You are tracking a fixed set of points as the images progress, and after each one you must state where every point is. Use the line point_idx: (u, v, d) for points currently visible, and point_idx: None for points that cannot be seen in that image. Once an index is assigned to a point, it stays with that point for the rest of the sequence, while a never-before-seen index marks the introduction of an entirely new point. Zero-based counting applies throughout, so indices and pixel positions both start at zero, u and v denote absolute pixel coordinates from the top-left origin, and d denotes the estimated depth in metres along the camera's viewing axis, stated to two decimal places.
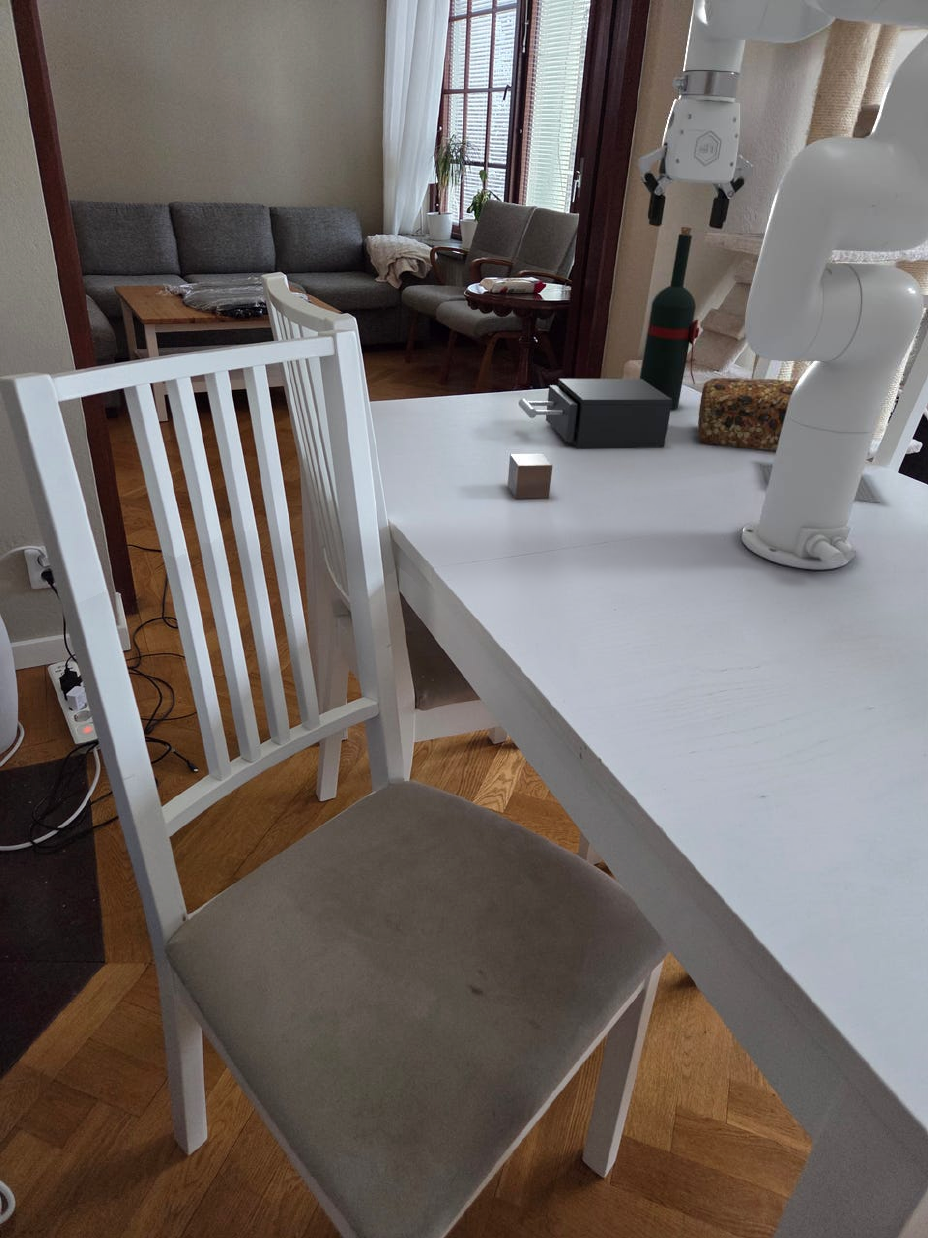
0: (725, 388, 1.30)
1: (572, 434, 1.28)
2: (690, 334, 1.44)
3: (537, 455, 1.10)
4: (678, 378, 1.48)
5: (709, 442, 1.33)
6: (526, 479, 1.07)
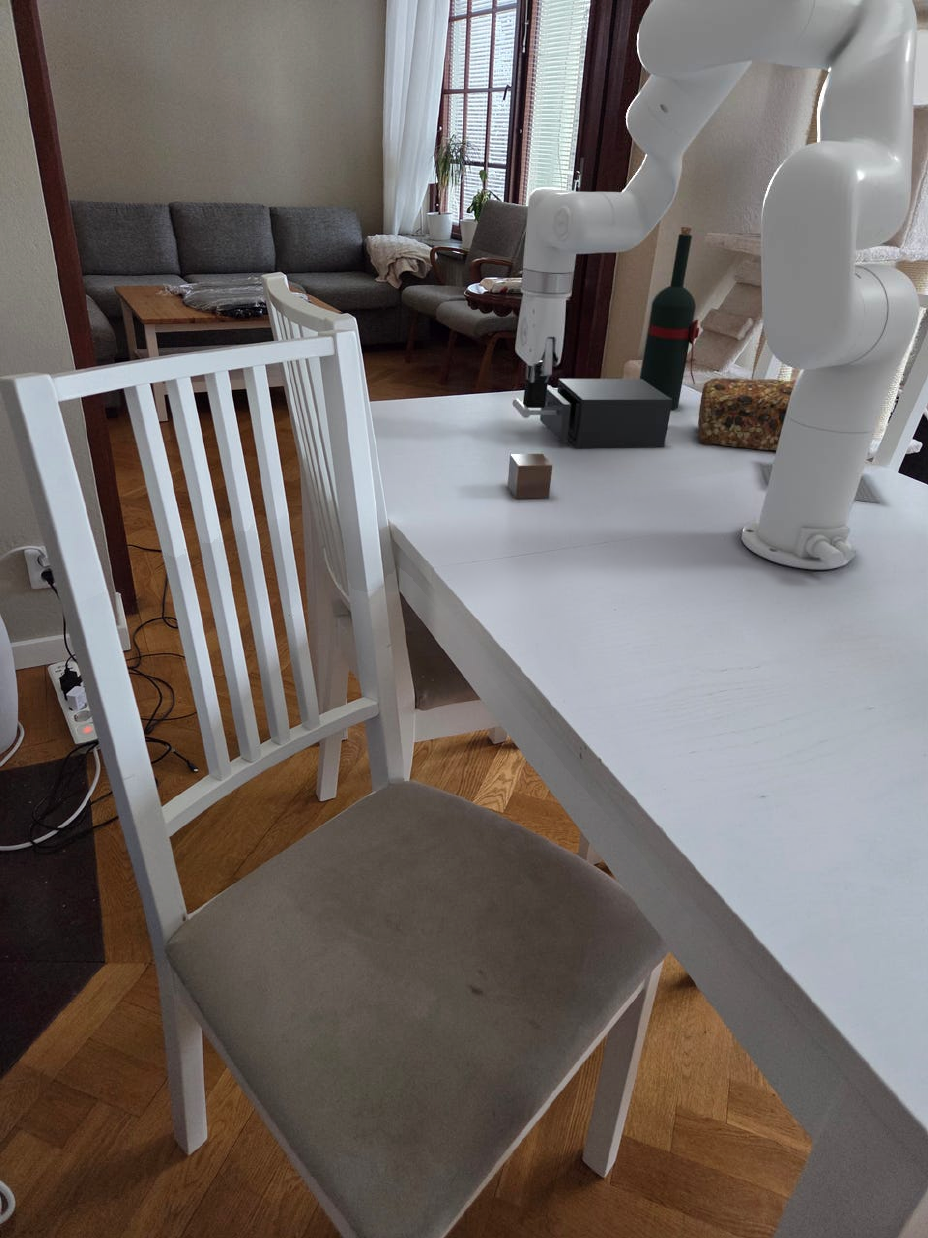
0: (725, 388, 1.30)
1: (566, 434, 1.27)
2: (690, 334, 1.44)
3: (537, 455, 1.10)
4: (678, 378, 1.48)
5: (709, 442, 1.33)
6: (526, 479, 1.07)
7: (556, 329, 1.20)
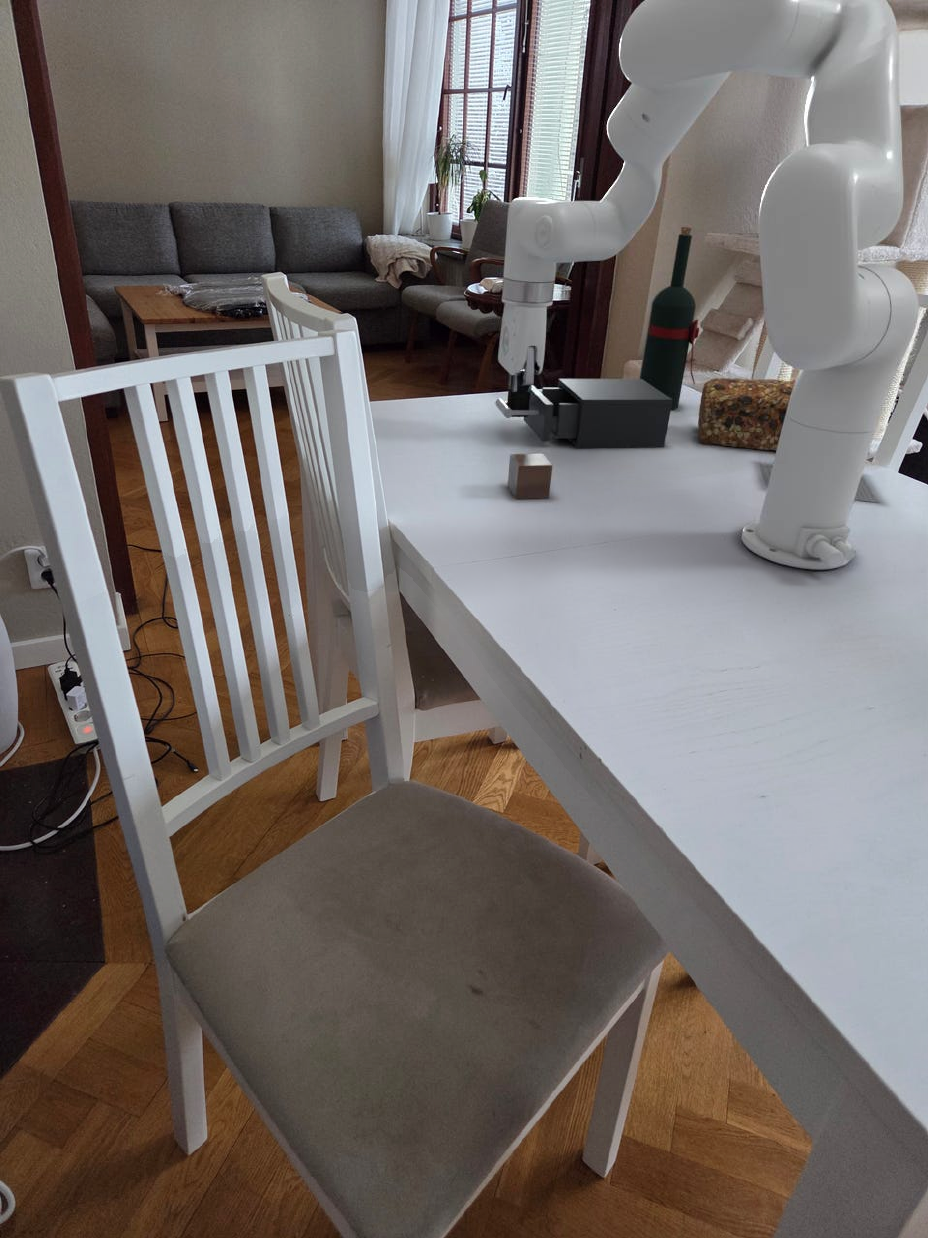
0: (725, 388, 1.30)
1: (548, 434, 1.27)
2: (690, 334, 1.44)
3: (537, 455, 1.10)
4: (678, 378, 1.48)
5: (709, 442, 1.33)
6: (526, 479, 1.07)
7: (537, 338, 1.20)
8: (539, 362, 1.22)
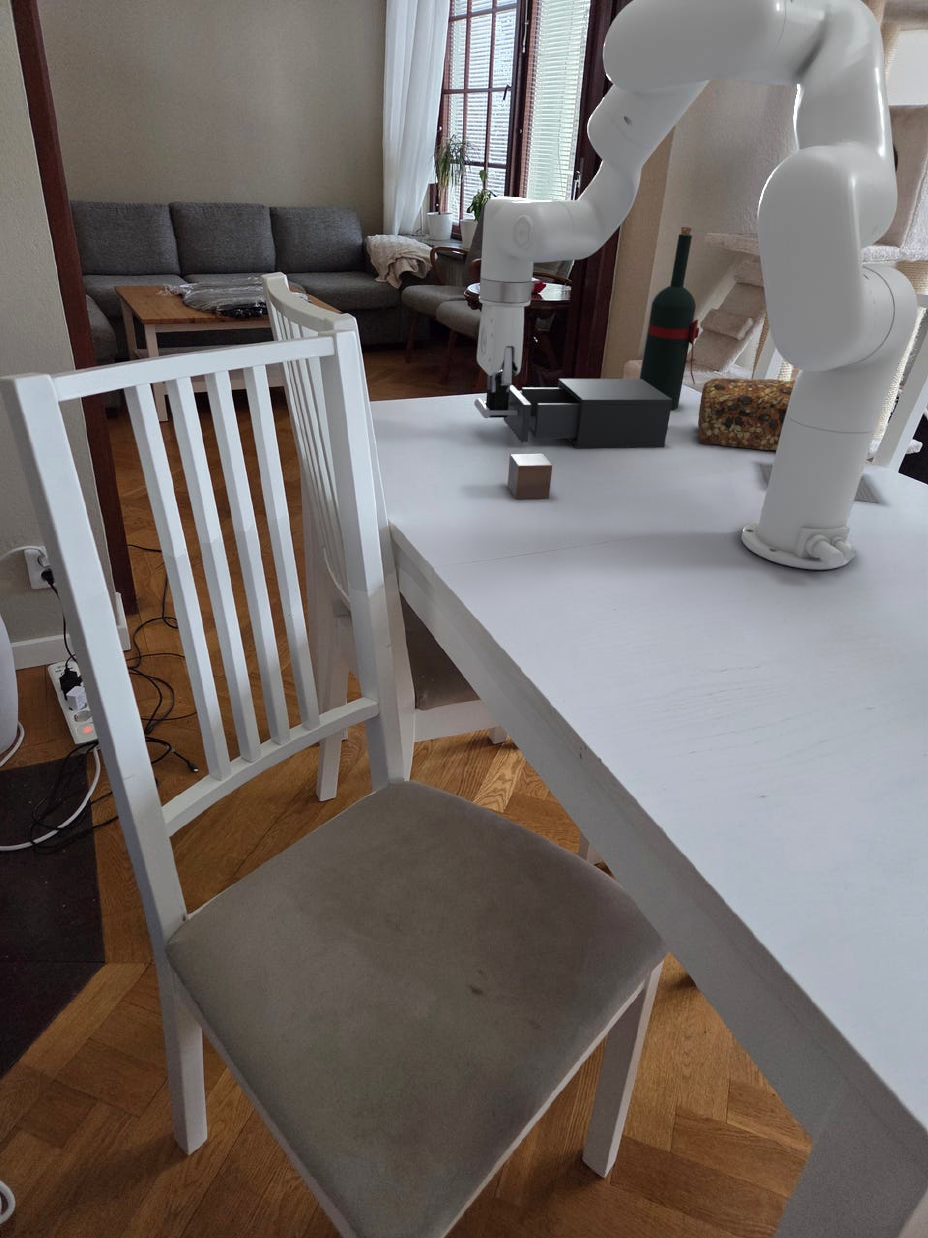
0: (725, 388, 1.30)
1: (527, 434, 1.26)
2: (690, 334, 1.44)
3: (537, 455, 1.10)
4: (678, 378, 1.48)
5: (709, 442, 1.33)
6: (526, 479, 1.07)
7: (514, 338, 1.19)
8: (517, 362, 1.21)
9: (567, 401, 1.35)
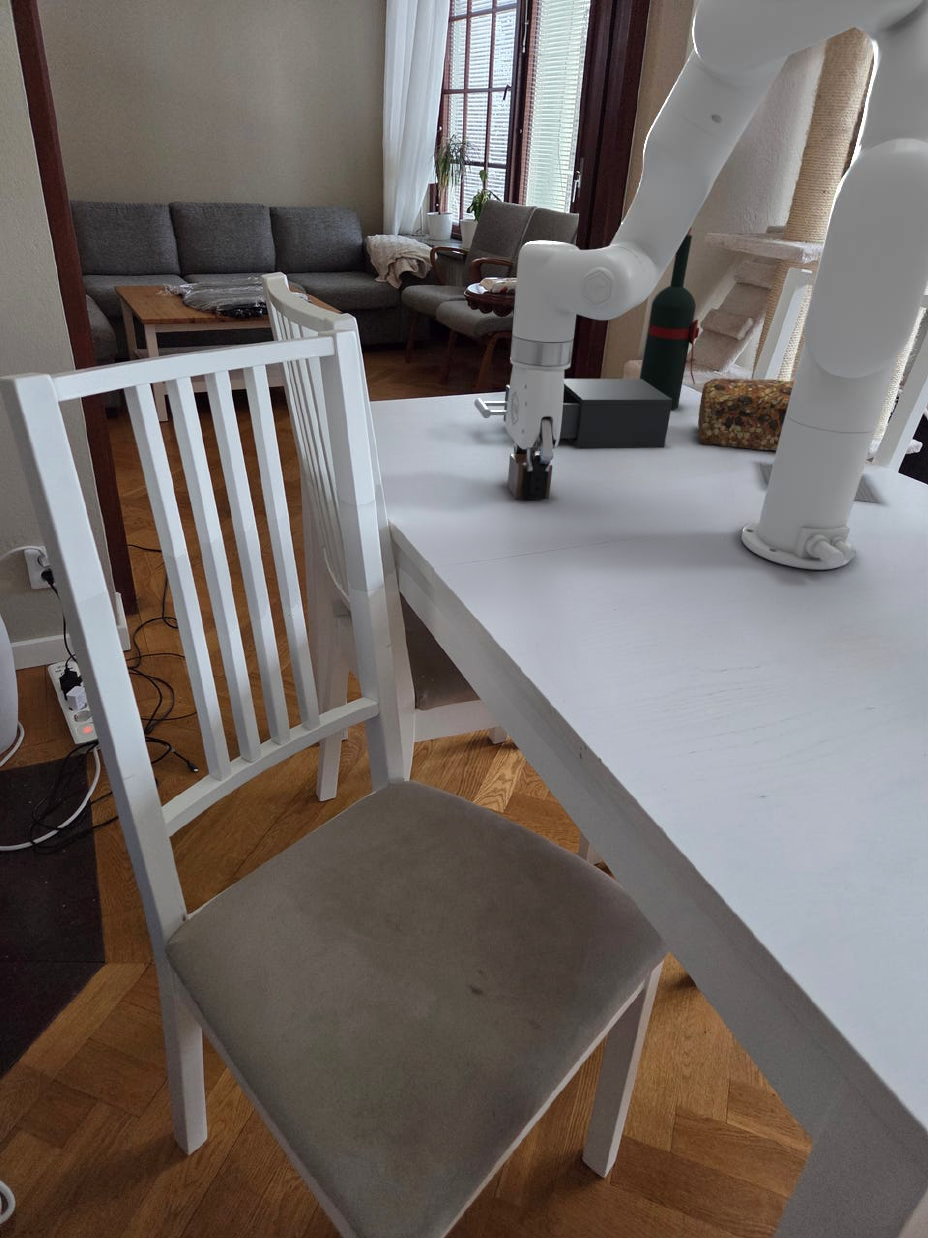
0: (725, 389, 1.30)
1: None
2: (690, 334, 1.44)
3: None
4: (678, 378, 1.48)
5: (709, 442, 1.33)
6: None
7: (553, 407, 1.00)
8: (555, 435, 1.02)
9: (567, 401, 1.35)
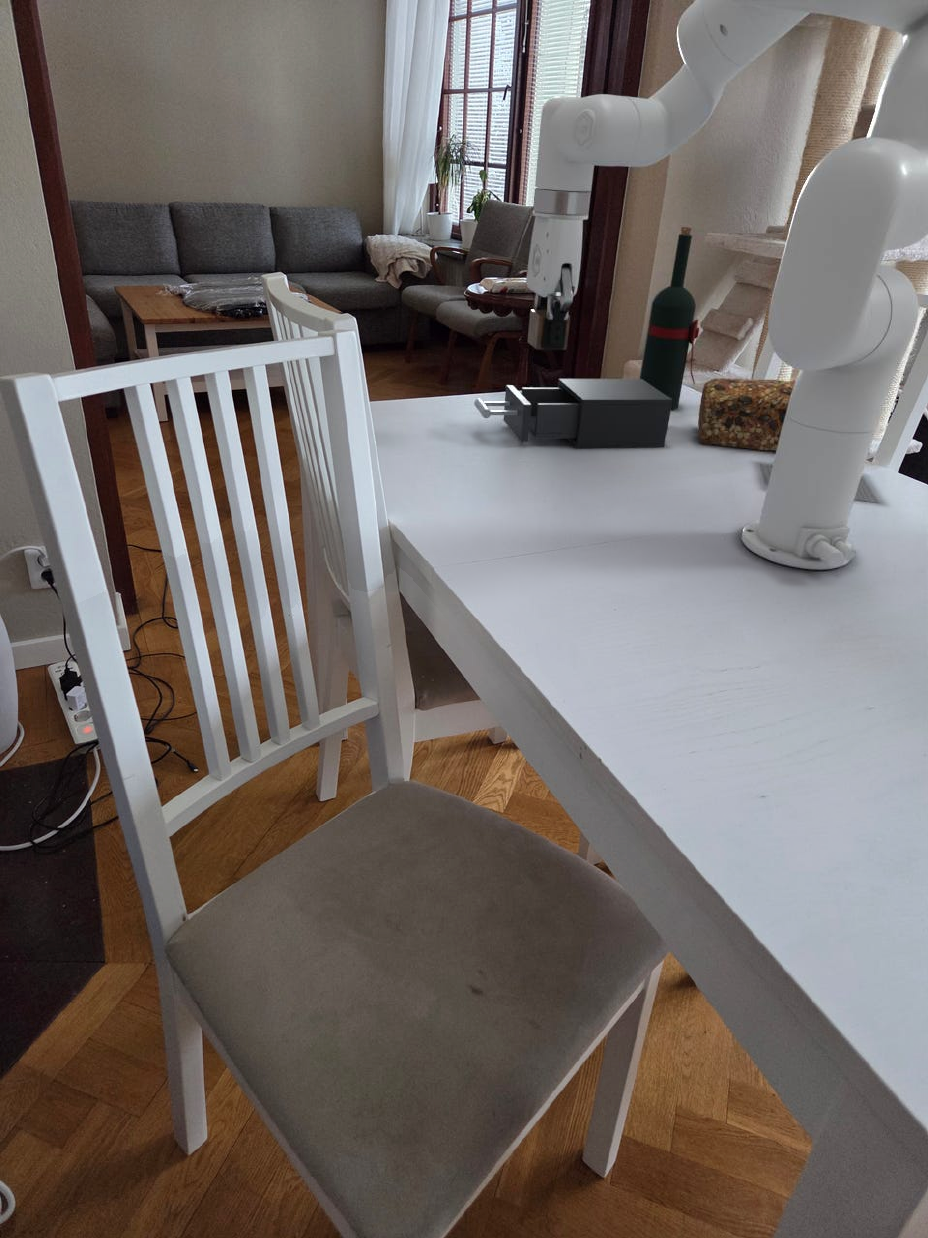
0: (725, 389, 1.30)
1: (527, 434, 1.26)
2: (690, 334, 1.44)
3: None
4: (678, 378, 1.48)
5: (709, 443, 1.33)
6: None
7: (572, 254, 1.10)
8: (574, 282, 1.12)
9: (567, 401, 1.35)
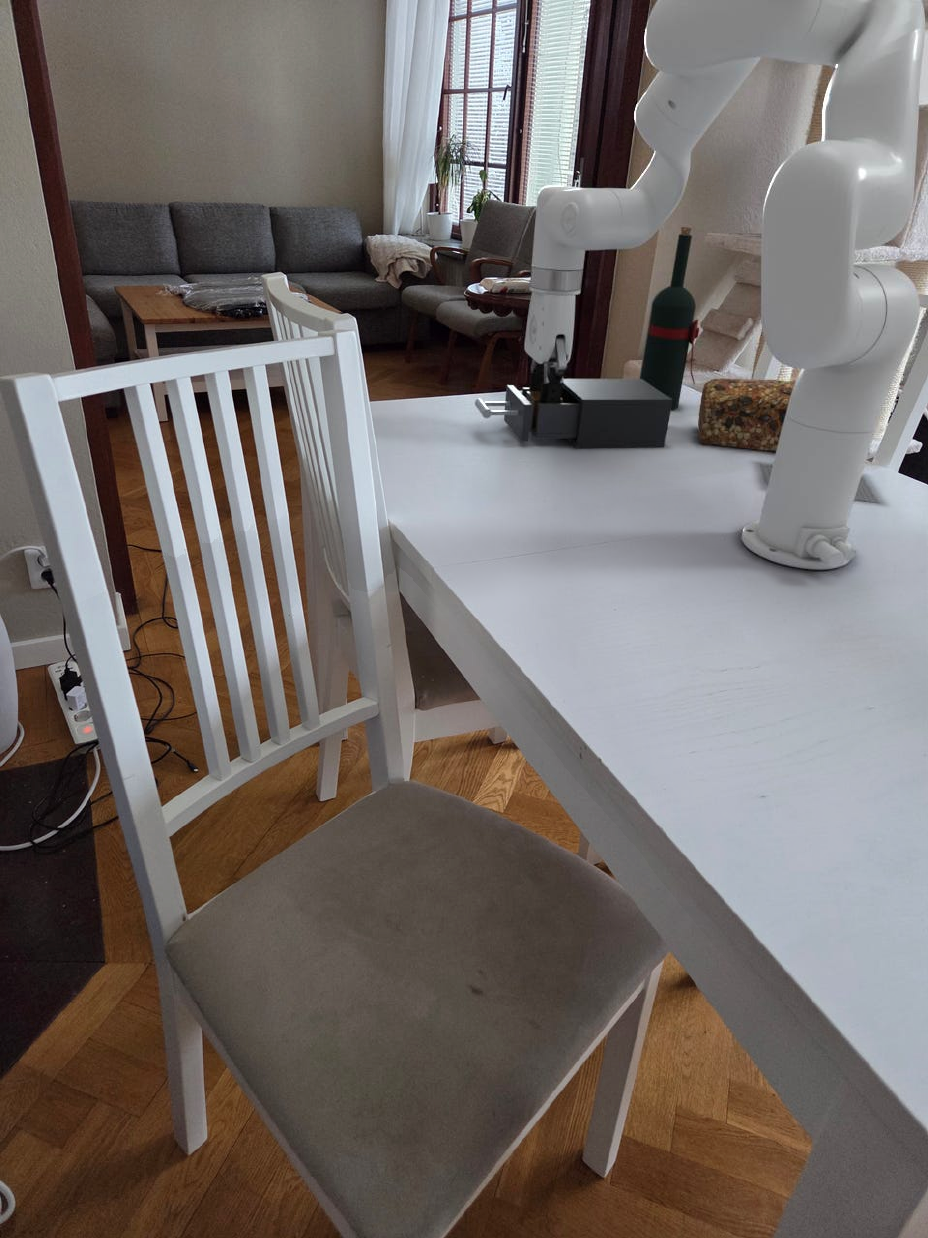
0: (725, 389, 1.30)
1: (527, 434, 1.26)
2: (690, 334, 1.44)
3: None
4: (678, 378, 1.48)
5: (709, 443, 1.33)
6: None
7: (566, 326, 1.20)
8: (567, 351, 1.22)
9: (567, 401, 1.35)
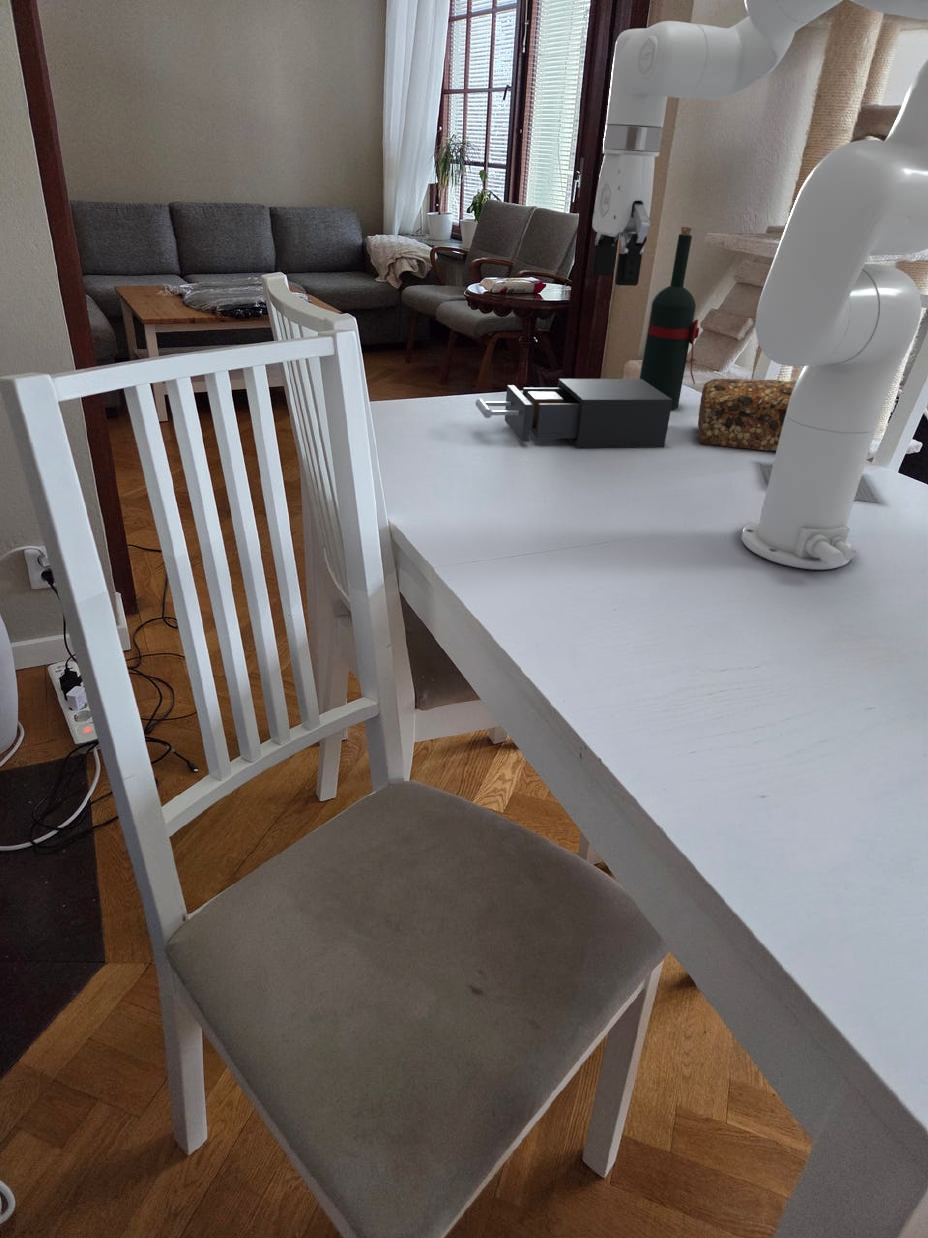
0: (725, 389, 1.30)
1: (528, 434, 1.26)
2: (690, 334, 1.44)
3: (550, 392, 1.31)
4: (678, 378, 1.48)
5: (709, 443, 1.33)
6: None
7: (644, 191, 1.09)
8: None
9: (568, 401, 1.35)
